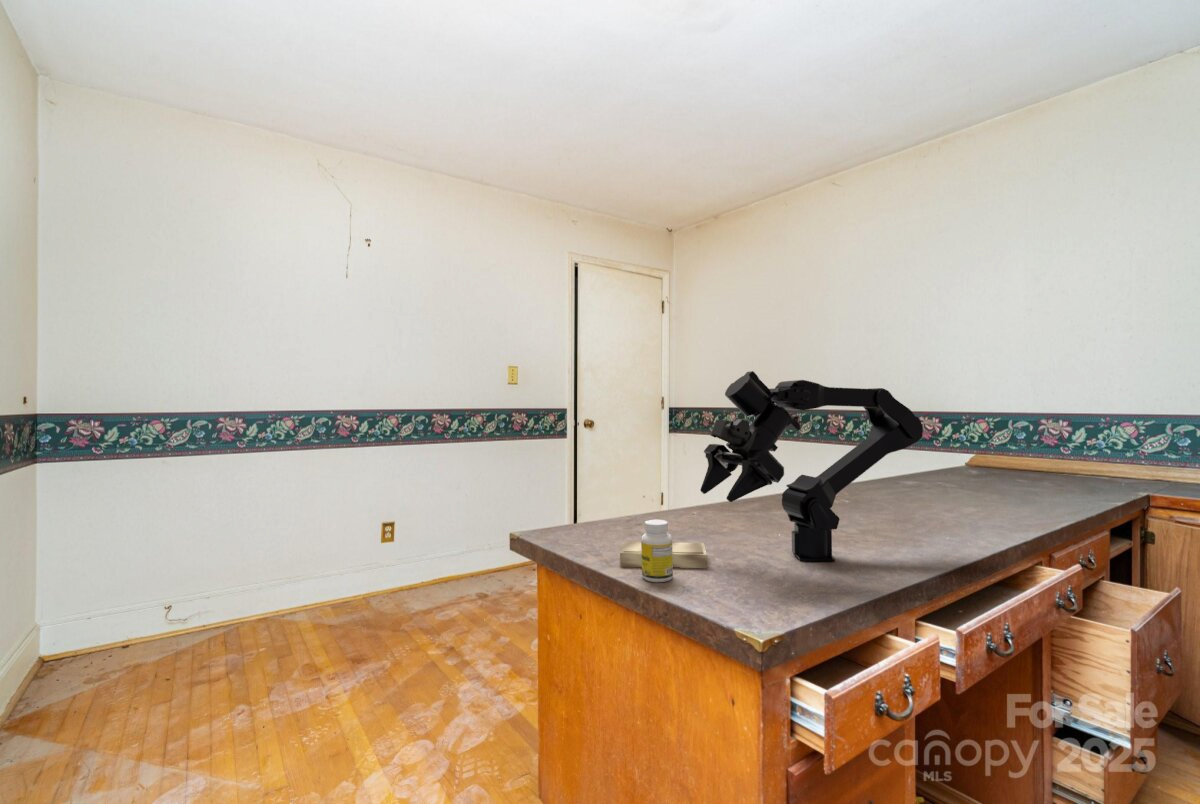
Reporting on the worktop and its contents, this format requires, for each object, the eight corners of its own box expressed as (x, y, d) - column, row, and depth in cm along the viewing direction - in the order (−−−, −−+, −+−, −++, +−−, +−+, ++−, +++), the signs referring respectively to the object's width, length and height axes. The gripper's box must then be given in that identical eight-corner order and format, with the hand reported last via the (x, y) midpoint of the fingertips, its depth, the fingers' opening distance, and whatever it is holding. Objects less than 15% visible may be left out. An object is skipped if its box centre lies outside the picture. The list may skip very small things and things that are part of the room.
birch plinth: (703, 555, 107) (703, 542, 107) (707, 568, 99) (706, 553, 99) (623, 554, 109) (623, 540, 109) (620, 566, 101) (620, 552, 101)
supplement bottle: (639, 573, 97) (638, 519, 97) (669, 572, 97) (668, 518, 97) (644, 583, 92) (643, 525, 92) (676, 582, 92) (675, 524, 92)
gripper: (710, 404, 110) (663, 462, 106) (767, 403, 92) (712, 473, 88) (745, 440, 112) (700, 498, 109) (807, 447, 94) (755, 516, 91)
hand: (714, 496), depth 99 cm, fingers open, 9 cm apart
